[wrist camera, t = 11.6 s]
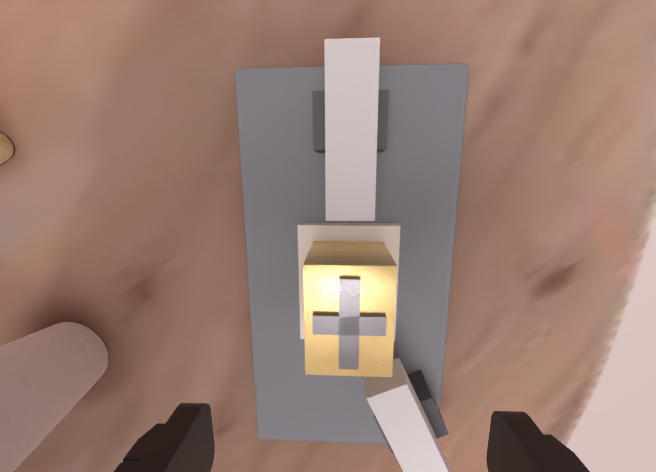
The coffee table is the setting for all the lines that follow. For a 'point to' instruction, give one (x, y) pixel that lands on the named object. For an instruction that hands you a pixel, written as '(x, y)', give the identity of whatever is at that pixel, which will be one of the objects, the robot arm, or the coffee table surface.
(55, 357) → the dixie cup
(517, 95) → the coffee table surface
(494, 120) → the coffee table surface
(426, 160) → the lever control panel
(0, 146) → the grandmother figurine
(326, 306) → the yellow plus-sign block
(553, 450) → the robot arm
